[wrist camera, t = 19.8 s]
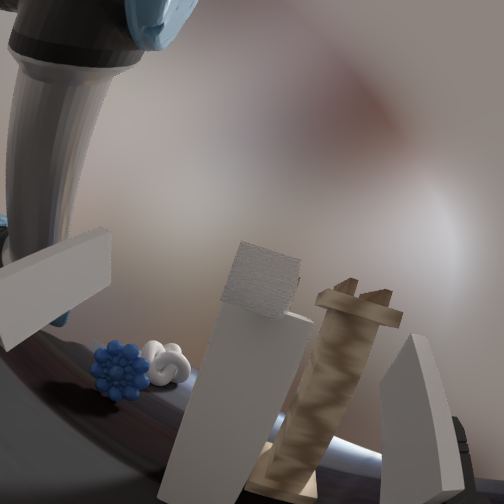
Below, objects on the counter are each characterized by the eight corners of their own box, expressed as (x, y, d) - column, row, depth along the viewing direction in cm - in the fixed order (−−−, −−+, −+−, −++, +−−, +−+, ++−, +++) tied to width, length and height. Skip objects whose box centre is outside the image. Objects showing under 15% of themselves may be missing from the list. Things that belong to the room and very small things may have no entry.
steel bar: (219, 300, 14) (247, 221, 14) (267, 303, 37) (277, 274, 37) (279, 321, 13) (307, 240, 13) (289, 311, 36) (299, 281, 37)
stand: (243, 489, 28) (333, 272, 32) (257, 448, 42) (322, 282, 46) (311, 506, 26) (407, 296, 31) (309, 462, 40) (377, 299, 44)
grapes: (150, 407, 44) (167, 351, 46) (134, 420, 37) (151, 359, 39) (99, 379, 45) (112, 324, 47) (79, 387, 39) (92, 327, 40)
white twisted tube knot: (189, 382, 64) (200, 351, 65) (178, 399, 52) (190, 363, 54) (148, 365, 65) (158, 334, 66) (130, 377, 53) (140, 341, 54)
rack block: (156, 497, 21) (226, 293, 25) (187, 459, 32) (246, 297, 35) (221, 525, 20) (314, 323, 23) (239, 480, 31) (308, 317, 34)
